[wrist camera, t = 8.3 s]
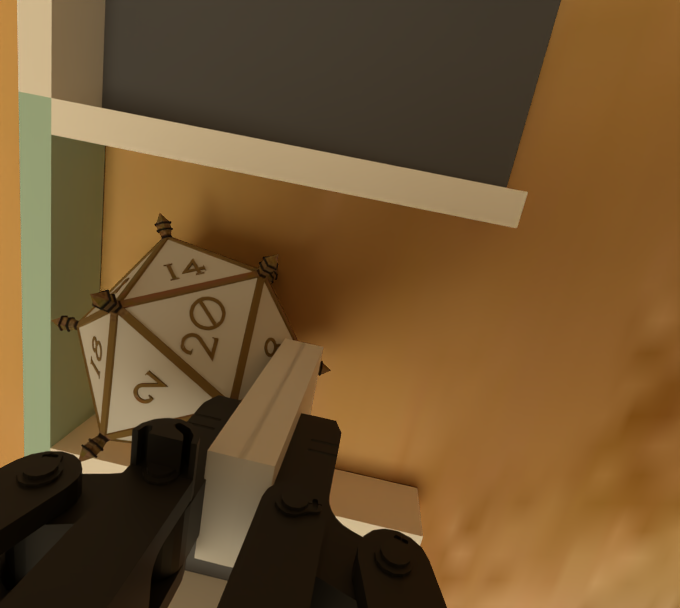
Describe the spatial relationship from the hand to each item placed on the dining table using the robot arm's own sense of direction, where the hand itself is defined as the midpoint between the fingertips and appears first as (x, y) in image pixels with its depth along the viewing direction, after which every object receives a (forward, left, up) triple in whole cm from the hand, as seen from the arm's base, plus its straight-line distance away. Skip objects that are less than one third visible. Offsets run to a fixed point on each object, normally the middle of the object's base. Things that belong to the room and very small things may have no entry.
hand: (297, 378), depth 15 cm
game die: (+4, 0, -5) cm, 6 cm away
